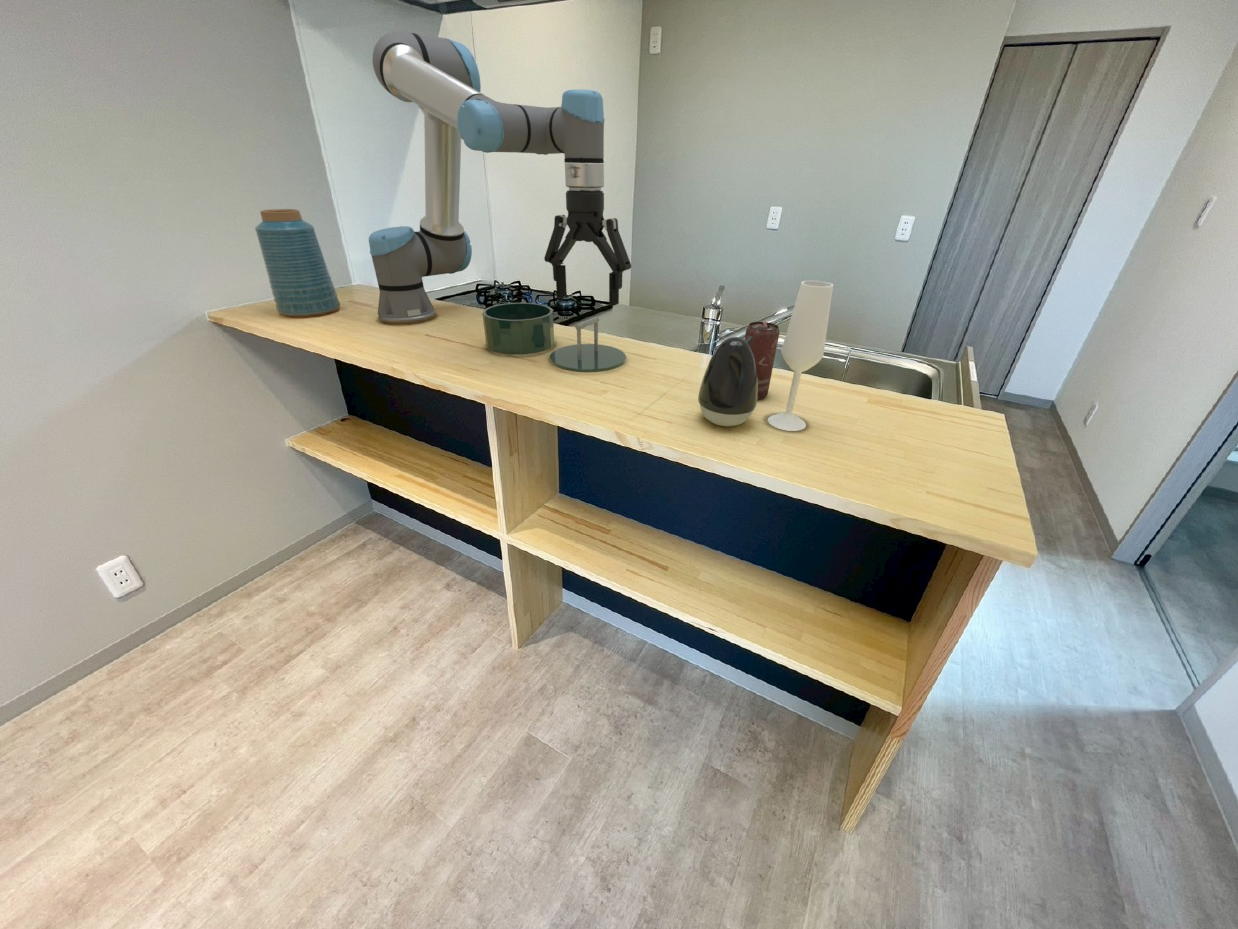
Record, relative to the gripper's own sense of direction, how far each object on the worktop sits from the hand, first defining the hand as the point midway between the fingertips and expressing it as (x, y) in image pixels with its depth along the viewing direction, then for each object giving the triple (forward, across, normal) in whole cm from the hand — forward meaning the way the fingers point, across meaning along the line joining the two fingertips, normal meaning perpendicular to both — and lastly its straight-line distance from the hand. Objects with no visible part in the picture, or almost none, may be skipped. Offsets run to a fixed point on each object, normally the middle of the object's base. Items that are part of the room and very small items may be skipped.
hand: (587, 300), depth 107 cm
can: (+14, +38, +2) cm, 41 cm away
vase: (+13, -92, -10) cm, 94 cm away
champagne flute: (+14, +48, -7) cm, 50 cm away
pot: (+13, -20, 0) cm, 24 cm away
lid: (+13, 0, 0) cm, 13 cm away
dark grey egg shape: (+14, +38, -12) cm, 42 cm away
